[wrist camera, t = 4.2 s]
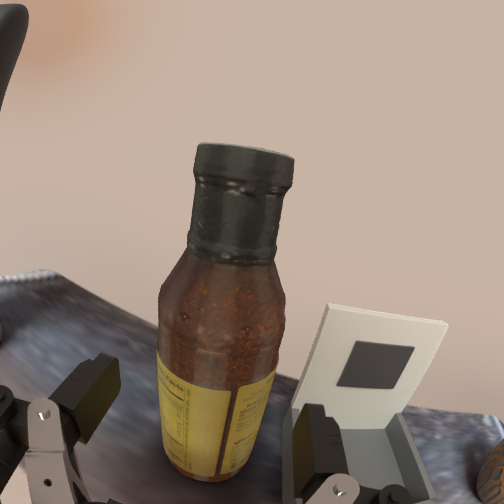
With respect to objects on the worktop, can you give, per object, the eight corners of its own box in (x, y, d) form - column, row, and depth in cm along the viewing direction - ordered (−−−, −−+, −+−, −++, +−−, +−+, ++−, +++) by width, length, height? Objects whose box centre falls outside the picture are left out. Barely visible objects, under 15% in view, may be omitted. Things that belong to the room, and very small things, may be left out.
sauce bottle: (236, 421, 20) (297, 165, 15) (257, 482, 15) (367, 172, 9) (156, 421, 18) (178, 141, 13) (161, 487, 13) (181, 126, 7)
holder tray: (281, 537, 10) (379, 440, 7) (281, 423, 21) (327, 302, 18) (414, 520, 10) (526, 410, 7) (383, 427, 21) (444, 321, 18)
